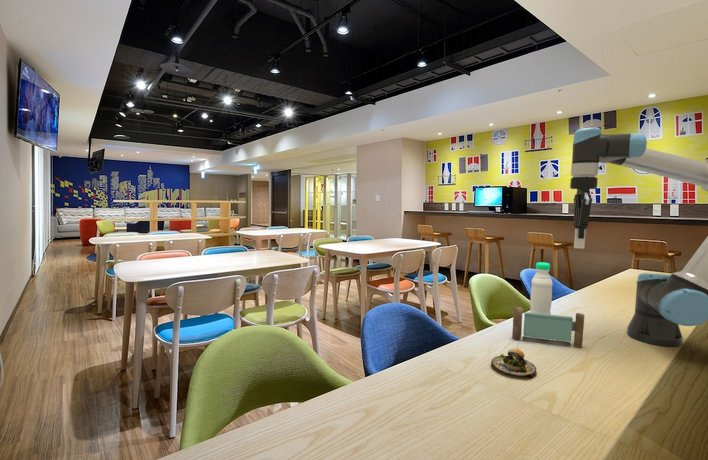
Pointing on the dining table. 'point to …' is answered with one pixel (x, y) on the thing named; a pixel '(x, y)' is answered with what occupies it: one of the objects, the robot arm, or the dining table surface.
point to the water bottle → (541, 290)
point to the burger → (514, 364)
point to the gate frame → (578, 339)
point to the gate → (548, 326)
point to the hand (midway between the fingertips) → (579, 248)
